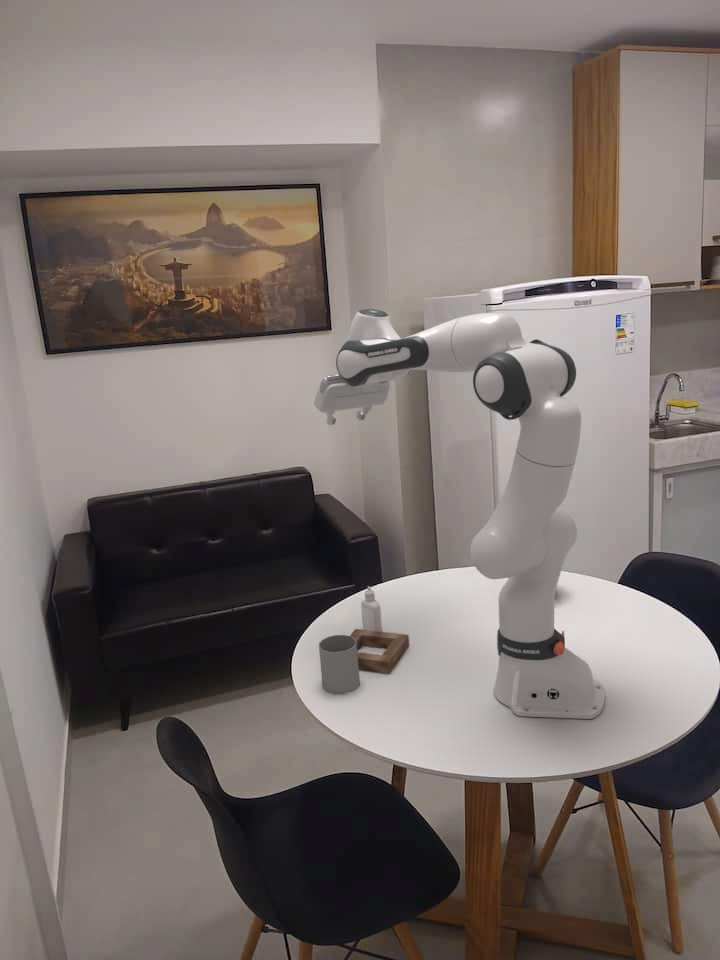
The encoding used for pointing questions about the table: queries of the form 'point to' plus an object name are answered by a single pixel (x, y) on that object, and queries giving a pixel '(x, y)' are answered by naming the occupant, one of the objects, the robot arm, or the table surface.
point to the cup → (339, 664)
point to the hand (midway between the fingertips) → (345, 421)
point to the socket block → (388, 641)
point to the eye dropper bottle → (371, 612)
